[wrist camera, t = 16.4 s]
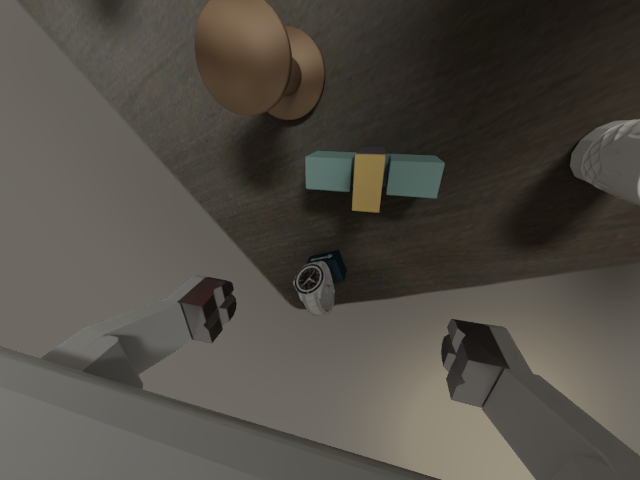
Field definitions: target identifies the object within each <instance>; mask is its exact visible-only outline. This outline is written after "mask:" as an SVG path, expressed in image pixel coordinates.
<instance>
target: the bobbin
mask: <svg viewBox="0 0 640 480" xmlns="http://www.w3.org/2000/svg"><path fill="white" fill-rule="evenodd" d="M195 54H196V61H197V65H198V69H199V72H200V75H201V78H202V80H203V82H204V84H205V86H206V88H207V89H208V91H209V92H210V94H211V95H212V96H213V98H214V99H215V100H216V101H217V102H218V103H219V104H220V105H222V106H223V107H224V108H226V109H227V110H229V111H231V112H233V113H236V114H240V115H259V114H263V113H265V112H268V113H269V114H271V115H272V116H274V117H276V118H279V119H283V120H295V119H299V118H301V117H304V116H305V115H307V114H308V113H310V112H311V111H312V110H313V109H314V108H315V106H316V105H317V103H318V102H319V100H320V98H321V95H322V93H323V89H324V84H325V67H324V62H323V58H322V55H321V53H320V51H319V49H318V47H317V46H316V44H315V43H314V41H313V40H312V39H311V38H310V37H309V36H308V35H307V34H306V33H304V32H303V31H301V30H300V29H298V28H295V27H292V26H284V25H283V23H282V21H281V19H280V18H279V16H278V15H277V13H276V12H275V11H274V10H273V9H272V8H271V7H270V6H269V5H268V4H267V3H266V2H265V1H264V0H210V1H209V2H208V3H207V5H206V6H205V7H204V9H203V11H202V13H201V15H200V18H199V20H198V24H197V28H196V34H195Z"/></svg>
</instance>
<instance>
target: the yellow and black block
mask: <svg viewBox="0 0 640 480" xmlns="http://www.w3.org/2000/svg"><path fill="white" fill-rule="evenodd" d="M385 155H386V147H367V146H362V147H361V148H360V149H359V151H358V152H357V153H356V154H355V166H354V183H353V200H352V211H365V212H377V213H379V209H380V200H381V191H382V182H383V173H384V164H385Z"/></svg>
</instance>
